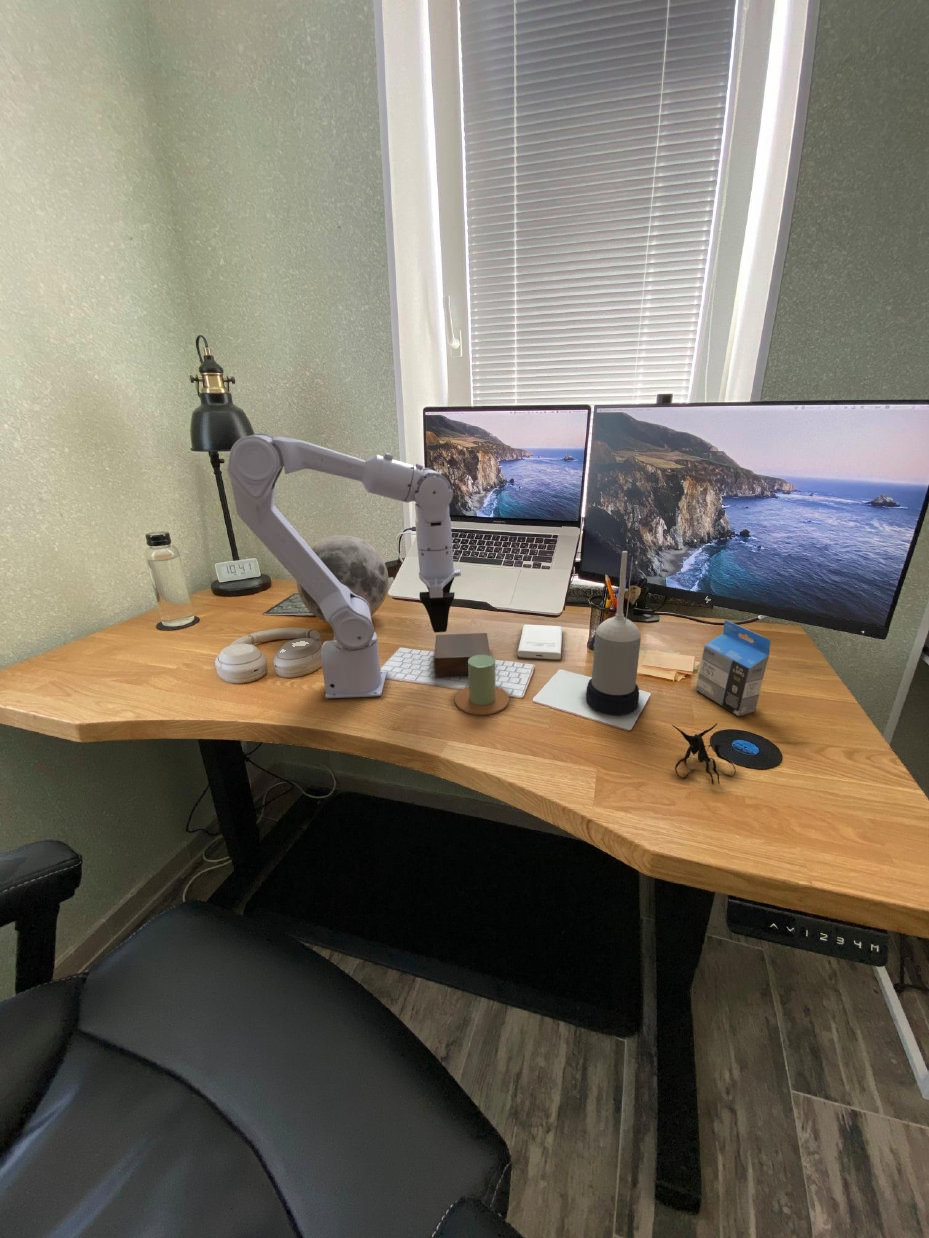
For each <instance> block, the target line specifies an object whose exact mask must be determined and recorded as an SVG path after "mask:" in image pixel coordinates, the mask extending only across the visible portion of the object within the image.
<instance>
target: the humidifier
mask: <svg viewBox="0 0 929 1238" xmlns="http://www.w3.org/2000/svg"><path fill="white" fill-rule="evenodd" d="M633 559H634V556H631V566H630V571H632V569H633ZM627 563H628V551H627V550H623V551H621V561H620V571H619V588H618V592H617V599H616V613H615V615H614V616H612V617H609V618H607V619H606V620H604V621H602V622H601V623H600V624H599V625H598V626H597V628H596V630H595V635H594V646H593V659H592V671H591V678H590V679H589V680H588V683H587V686H586V691H585V692H586V693H585V701H586V704H587V705H588V706H589V708H591V709H592V710H594V711H595V712H598V713H600V714H603V715H608V716H616V717H617V716H618V717H619V716H627V715H630V714H633V713H634V712H635V711H636V710H637V709H638V705H639V700H640V688H639V685H638V684H637V678H638V677H637V676H638V675H637V674H638V666H639V659H640V649H641V641H642V639H641V635H642V633H641V631H640V629H639V627H638V626H637V625H636V624H635V623H634V622H633V621H632V620H630V619H628V618H627V617H628V612H629V603H630V598H631V593H629V596H628V599H627V605H626V615H625V614H624V597H625V593H626V588H627V586H626V585H627V583H626V582H627V579H626V578H627ZM631 579H632V572H630V573H629V580H628V589H629V590H628V591H629V592H631Z"/></svg>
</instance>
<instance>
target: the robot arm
mask: <svg viewBox="0 0 929 1238" xmlns="http://www.w3.org/2000/svg"><path fill="white" fill-rule="evenodd" d="M228 456H229V457H228V461H227V465H226V466H227V467H226V473H227V475H228V478H229V479H230V480H229V481H230V485H231V490H232V494H233V500H234V505H235V509H236V513H237V515H238V517H239V518H240V519H241V521H242V522H243V523H244V524H245V525H246V526H247V528H249V530H250V531H251V532H252V533H253V534H254V535H255V536H256V538H258V540H259V541H260V542H261V543H262V544H263V545H264V546H265V548H266V549H268V551H269V552H270V553H271V554H272V555H273V557H275V558H276V560H278V562H279V563H280V564H281V566H283V567H284V569H286V571H287V572H288V573H289V574H290V575H291V576H292V577H293V578H294V580H295V581H296V580H297V582H298V583H299V584H300V585H301V586H302V587H303V588H304V589H305V590H306V592H307V593H308V594H309V595H310V596H311V597H312V598H313V599H314V600H315V602H316V603H317V604H318V605H319V607H320V609H321V611H322V613H323V615H324V617H325V619H326V621H327V622H326V623H328V624H329V626H330V627H331V629H332V631H333V636H334V637H333V639H331V640H325V641H324V642H322V643H323V644H322V646H321V653H320V661H321V668H322V669H321V670H322V677H323V681H324V688H325V698H326V699H345V698H346V699H347V698H371V697H380V696H382V694H383V690H384V686H385V683H386V679H387V672H386V671H382V669H381V661H380V651H379V641H378V634H377V633H376V632H375V626H374V623H373V621H372V616H371V608H370V605H369V604H368V602H367V601H366V600H365V599H364V598H362V597H360V596H357V595H355V594H354V593H352V592H351V591H350V589H349V588H348V587H347V586H345V585H343V584H342V583H340V582H339V581H338V579H337V578H336V577H335V576H334V575H333V574H332V572H331V571H330V570H329V569H328V568H327V567H326V565H325V564H324V563H323V562H322V561H321V560H320V558H319V557H318V556H317V555H316V554H315V552H314V551H313V550H312V549H311V548H310V547H311V546H310V545H309V544H308V543H307V542H306V541H305V539H304V538H303V537H302V536H301V534H299V532H298V531H297V530H296V529H295V528H294V527H293V525H292V524H291V523H290V522H289V521H288V519H286V517H285V516H284V515H283V514H282V512H281V511H280V510H279V509H278V508H277V506H276V505H275V499H276V490H277V482H278V479H279V477H280V475H281V473H282V471H283V469H284V474H285V475H288V474H291V473H295V472H299V471H302V470H306V469H307V470H313V471H316V472H320V473H324V474H330V475H332V476H337V477H342V478H346V479H349V480H350V479H351V480H354V481H357V482H361V483H362V485H363V487H364V488H365V490H366V492H367V493H370V494H372V495H377V496H380V497H385V498H389V499H392V500H395V501H399V502H403V503H411V502H414V510H415V519H414V520H415V521H414V523H415V534H416V535H415V536H416V544H417V547H416V548H417V556H418V567H419V568H418V569H419V572H418V578H419V580H420V581H421V582H422V583H423V584H424V585H425V586H426V588H427V591H419V600H420V602H421V604H422V605H423V606H424V608H425V610H426V613H427V615H428V618H429V622H430V624H431V628H432V631H433V633H446V632H447V630H448V623H449V615H450V611H451V610H450V609H451V607H452V603H453V601H454V599H455V594H456V593H455V591H452V592H451V589H452V585H453V582H454V580H455V578H456V577H461V576H462V570H461V569H460V568H455V567H454V552H453V551H454V549H453V534H452V519H451V515H450V509H451V508H450V504H451V503H452V500H453V496H454V490H453V489H452V485H451V483H450V481H449V480H448V479H447V478H446V477H445V475H443V474H441V473H439V472H438V471H436V470H434V469H431V468H430V467H424V465H423V464H422V463H418V462H417V463H416V464H415V465H414V464H411V463H407V462H403V461H401V460H397V459H394V455H393V454H391V453H388V452H384V453H383V455H381V454H374V455H373V456H371V457H370V458H368V459H361V458H359V457H355V456H353V455H349V454H346V453H343V452H339V451H338V450H334V449H330V448H327V447H324V446H321V445H318V444H315V443H312V442H310V441H309V442H308V441H305V440H302V439H298V438H291V437H286V436H285V437H284V436H275V437H274V436H272V435H271V434H267V433H263V432H260V433H259V432H258V433H253V434H251V435H246V436H243V437H241V438H238V439H237V440H236V441H235V442H234V443H233V445H232V446H231V448H230V452H229V455H228ZM297 582H296V583H297Z"/></svg>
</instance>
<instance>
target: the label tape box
mask: <svg viewBox="0 0 929 1238" xmlns="http://www.w3.org/2000/svg"><path fill="white" fill-rule="evenodd" d="M739 634H741V635H743V636H745V635H746V636H747V637H748V638H749V639H751V640H752V641H753V642H752V641H750V640H748V639H746V638H743V637H741V636H739ZM771 643H772V642H771V639H769V638H767V637H766V636H763V635H761V634H759V633H757V632H754V631H752V630H750V629H748V628H745V627H743V626H741V625H739V624H736V623H734V622H732V621H730V620H727V619H724V622H723V631H722V633H721V634H720V635H718V636H717V637H715V638H714V639H712V640H711V641H709V642H707V643H706V644H705V645H703V650H702V651H703V652H702V656H701V662H700V666H699V671H698V676H697V680H696V686H695V691H697V692H699V693H700V694H702V695H704V696H705V697H707V698H708V699H710V700H711V701H714V702H715V703H716V704H718V705H720V706H721V707H723V708H724V709H726V710H728V711H729V712H731V713H732V714H734V715H735V716H738V717H741V716H744V715H748V714H751V713H754V712H756V709H757V706H758V701H759V698H760V694H761V693H760V692H761V688H762V685H763V681H764V676H765V672H766V669H767V665H768V661H769V657H770V649H771Z"/></svg>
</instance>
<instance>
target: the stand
mask: <svg viewBox="0 0 929 1238" xmlns="http://www.w3.org/2000/svg"><path fill="white" fill-rule="evenodd" d="M434 644H435V645H434V656H433V657H434V658H433V663H434V675H435V679H440V678H466V677H468V660H469V658H471V657H473V656H476V655H488V656H491V651H490V643H489V637H488V633H487V632H475V633H474V632H473V633H452V634H451V633H449V634H445V633H444V634H436V635H435V643H434Z"/></svg>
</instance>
